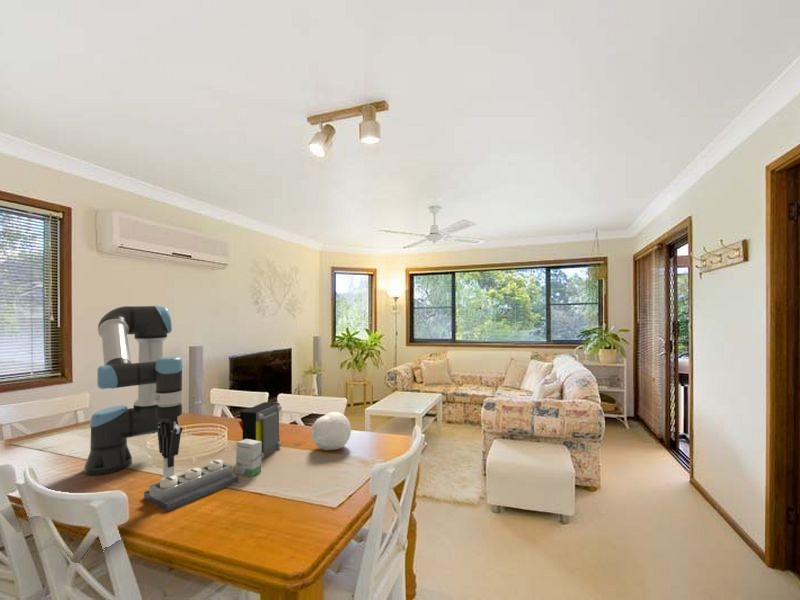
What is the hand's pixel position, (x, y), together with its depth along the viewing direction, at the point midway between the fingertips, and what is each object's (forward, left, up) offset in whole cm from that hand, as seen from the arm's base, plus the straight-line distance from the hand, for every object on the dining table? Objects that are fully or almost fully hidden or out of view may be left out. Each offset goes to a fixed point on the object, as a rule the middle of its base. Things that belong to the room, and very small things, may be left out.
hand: (168, 476), depth 125 cm
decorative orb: (+14, +62, -8) cm, 64 cm away
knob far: (0, +16, -5) cm, 17 cm away
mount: (0, +8, -8) cm, 11 cm away
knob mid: (0, +8, -5) cm, 9 cm away
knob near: (0, 0, -5) cm, 5 cm away
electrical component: (-8, +42, -8) cm, 44 cm away
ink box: (+4, +27, -8) cm, 28 cm away
